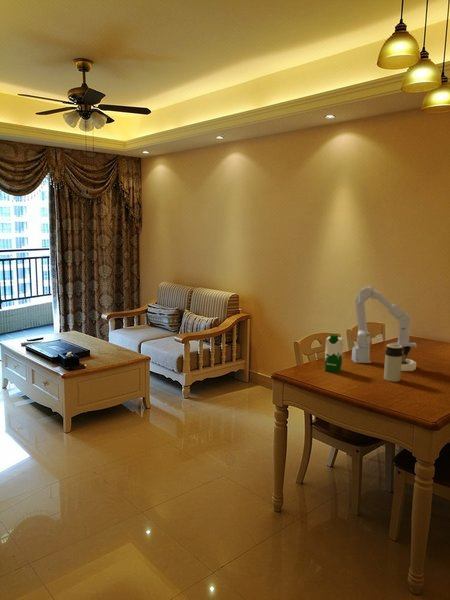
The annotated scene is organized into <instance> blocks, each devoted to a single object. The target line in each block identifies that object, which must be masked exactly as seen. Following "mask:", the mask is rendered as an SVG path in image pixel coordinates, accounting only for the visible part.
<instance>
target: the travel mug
mask: <svg viewBox="0 0 450 600" xmlns="http://www.w3.org/2000/svg"><path fill="white" fill-rule="evenodd" d="M401 348H403V347H402V346H401V345H397V344H390V343H388V344H386V349H385V353H384V355H385V356H384V367H383V368H384V369H383V370H384V371H383V379H384V380H385V381H387V382H391V383H393V382H394V383H397V382H400V381H401V374H402V371H401V362H402V353H403V351H401Z"/></svg>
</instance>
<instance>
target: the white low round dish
mask: <svg viewBox="0 0 450 600" xmlns="http://www.w3.org/2000/svg"><path fill="white" fill-rule="evenodd" d="M416 369H417V362H416V361H415V360H413V359H410V358H409V359H408V358H406V360H405V364H401V372H413V371H414V370H416Z"/></svg>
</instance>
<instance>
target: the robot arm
mask: <svg viewBox="0 0 450 600" xmlns="http://www.w3.org/2000/svg"><path fill="white" fill-rule="evenodd" d="M368 299H371V300H372V299H373V300H377V301H378V302H380V303H381V304H382V305H383V306H384V307H386V308H387V311H388V314H390V315H392V316H393V317H394V318H395V319H396V320H398V323H399V324H398V325H399V326H398V334H397V336H398V337H397V341H396V342H390V343H389V344H397V345H401V346H402V348H401V351H402V353H403V354H405V355H406V358H405V360H406V359H407V357H408V355H409V353H410V351H411V350H412V348H413V347H414V348H417V346H418V345H417V343H416V342H409V341H410V335H411V334H410V332H411V328H410V327H411V321H412V316H411V315H410V314H409V313H407V312H406V311H404V310H403V309H402V308H401V306H400V305H398V304H395V303H393V304H392V302H390V300H388V299H387V298H386V297H385V296H384V295H383V294H382V293H381V292H380V291H379V290H378V289H377V288H375V287H374V286H372V285H367V286H365V287H362V288H361V289H359V291H358V294H357V296H356V298H355V301H354V304H355V310H356V311H355V312H356V322H357V329H358V330H357V338H356V346H353V347H352V351H351V361H352V362H354V363H356V364H371V363H372V362H373V361H371V360H370V351H371V345H370V343H371V341H372V338H371V336H370V333H369V330H368V325H367V315H366V314H367V313H366V307H365V306H366V305H365V304H366V303H365V302H367V301H368ZM411 347H412V348H411Z"/></svg>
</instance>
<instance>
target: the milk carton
mask: <svg viewBox="0 0 450 600" xmlns="http://www.w3.org/2000/svg"><path fill="white" fill-rule="evenodd" d="M343 349H344V337H340V336H339V335H338V334H330V335H329V336H328V337H326V339H325V351H324V352H325V353H324V354H325V355H324V372H328V373H334V374H339V373H340V372H341V370H342V365H343V353H344V352H343Z"/></svg>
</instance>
